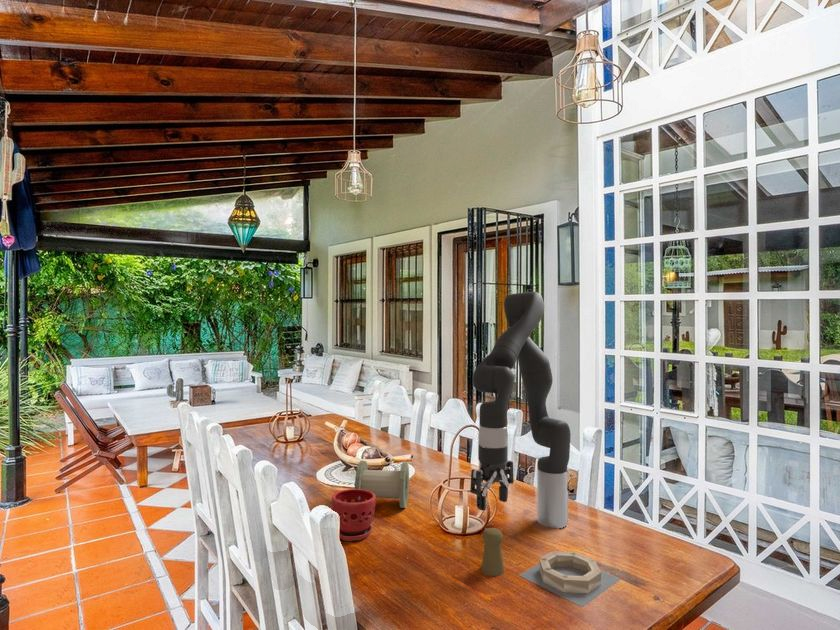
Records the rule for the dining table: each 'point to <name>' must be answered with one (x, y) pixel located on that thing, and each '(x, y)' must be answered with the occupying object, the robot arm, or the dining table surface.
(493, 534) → the olive pawn peg
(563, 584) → the wooden ring
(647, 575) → the dining table surface
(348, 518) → the plant pot
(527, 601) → the dining table surface
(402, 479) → the spool
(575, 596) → the slate mat
